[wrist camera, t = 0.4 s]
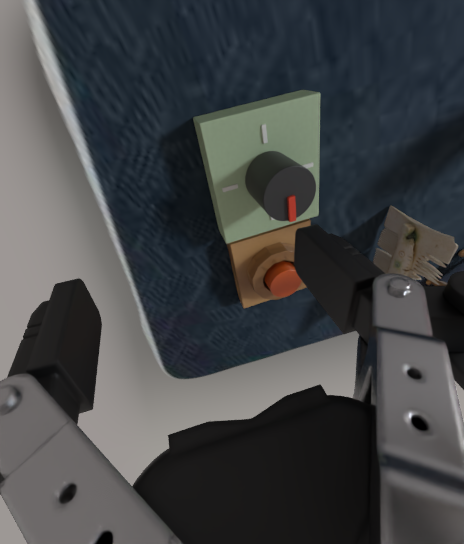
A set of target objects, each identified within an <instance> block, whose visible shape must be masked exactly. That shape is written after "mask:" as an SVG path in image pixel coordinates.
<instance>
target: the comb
mask: <svg viewBox="0 0 464 544" xmlns="http://www.w3.org/2000/svg"><path fill="white" fill-rule="evenodd" d="M384 226H385V227H386V228H384V229H383V231H381V232H383V233H381V234H380V235H381V236H380V237H381V238H380V239H381V240H380V239H379V241H378V242H379V243H378V245H379V246H380V247H381V248H382V249H383V250H385V251H386V252H385V251H383V250H380V249H378V248H376V251H377V252H376V251H375V252H376V253H375V254H376V255H375V256H376V257H375V256H374V257H375V258H374V259H375V260H374V259H373V260H374V261H375V262H374V261H373V262H374V263H375V265H376V266H377V267H378V268H380V269H381V270H382V271H383V272H384V273H386V274H388V273H395V274H401V275H405V276H408V277H410V278H412V279H414V280H415V279H416V280H421V277H419V276H418V275H416V274H419V275H422V276H423V277H425V278H427V279H428V280H430V281H432V282H434V283H435V284H437V285H439V284H438V283H437V282H436V281H435V280H437V281H439V280H438V279H437V278H436V277H438V278H440V279H441V277H440V276H439V275H441V276H443V274H442V273H441V272H439V271H438V270H437V269H436V268H435V267H434V266H432V265H431V264H429V263H428V262H427V261H429V260H431V261H433V262H434V263H436V264H438V265H440V266H442V267H445V268H446V266H445V265H444V264H443V263H442V262H444V263H446V264H449V263H450V261H451V259H452V257H453V255H454V254H455V252H456V250H457V248H458V245H457V244H456V243H455V242H454V237H452V236H449V235H446V234H443V233H440V232H438V231H435V230H432V229H430V228H429V227H427V226H425V225H423V224H421V223H419V222H418V221H416V220H414V219H412V218H410V217H409V216H407V215H405V214H404V213H402V212H401V211H399V210H398V209H396V208H395V207H393V206H390V207H389V210H388V214H387V217H386V220H385V223H384ZM387 228H388V229H387ZM385 229H386V230H385ZM384 231H385V232H384ZM387 252H388V253H389V254H388V253H387ZM439 260H440V261H439ZM441 261H442V262H441ZM374 263H373V264H374ZM438 274H439V275H438ZM435 276H436V277H435ZM434 279H435V280H434Z"/></svg>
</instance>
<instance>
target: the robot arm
mask: <svg viewBox="0 0 464 544" xmlns="http://www.w3.org/2000/svg"><path fill="white" fill-rule="evenodd" d="M294 266H295V270H296V273H297V275H298V276H299V278H300V279H301V280H302V281H303V283H304V284H305V285H306V287H307V288H308V289H309V290H310V292H311V293H312V294H313V295H314V297H315V298H316V299H317V301H318V302H319V303H320V304H321V306H322V307H323V308H324V309H325V311H326V312H327V313H328V315H329V316H330V317H331V318H332V320H333V321H334V322H335V323H336V325H337V326H338V327H339V329H340V330H341V331H342V332H343V334H346V333H349V332H352V331H355V330H356V331H357V332H358V333H359V338H358V347H357V364H356V380H355V389H354V395H353V398H349V397H344V396H334V395H326V393H325V391H324V389H323V388H322V386H321V385H317V386H315V387H312V388H308V389H305V390H302V391H300V392H296V393H293V394H290V395H287V396H285V397H283V398H282V399H281V400H279V401H277V402H276V403H275V404H273V405H272V406H270V407H269V408H267V409H266V410H264V411H263V412H261V413H260V414H258V415H257V416H255V417H253V418H251V419H244V420H228V421H213V422H206V423H203V424H200V425H197V426H194V427H191V428H188V429H185V430H182V431H179V432H176V433H173V434H170V435H168V437H169V449H167V450H166V451H164V452H163V453H162V454H160V455H159V456H158V457H157V458H156V459H154V460H153V461H152V462H151V463H150V464H149V465H148V467H147V468H146V469H145V470H144V471H143V472H142V473H141V475H140V476H139V477H138V478H137V480H136V481H135V483H134V485H133V486H131V485H130V484H129V483H128V482H127V480H126V479H125V478H124V477H123V476H122V475H121V474H120V473H119V472H118V470H117V469H116V468H115V467H114V466H113V465H112V464H111V463H110V461H109V460H108V459H107V458H106V457H105V456H104V455H103V454H102V453H101V452H100V450H99V449H98V448H97V447H96V446H95V445H94V444H93V443H92V441H91V440H90V439H89V438H88V437H87V436H86V435H85V434H84V432H83V431H82V430H81V429H80V428H79V427H78V426H77V423H78V416H79V413H83V412H86V411H89V410H92V409H93V403H94V392H95V384H96V375H97V365H98V356H99V346H100V336H101V327H102V323H101V317H100V314H99V311H98V309H97V307H96V305H95V303H94V301H93V299H92V298H91V296H90V293H89V292H88V290H87V288H86V286H85V284H84V282H83V281H82V280H81V279H75V280H70V281H66V282H62V283H57V284H55V286H54V288H53V291H52V294H51V297H50V300H49V301H45V302H42V303H41V304H40V305H39V307H38V308H37V309H36V310H35V311H34V312H33V313H32V315H31V318H30V320H29V323H28V325H27V329H26V330H25V333H24V336H23V340H22V341H21V343H20V346H19V348H18V351H17V353H16V356H15V359H14V361H13V364H12V367H11V369H10V371H9V374H8V377H7V378H6V379H4V380H2V381H0V495H1V496H2V498H3V499H4V501H5V503H6V505H7V506H8V509H9V511H10V512H11V514H12V516H13V518H14V520H15V522H16V523H17V525H18V527H19V529H20V531H21V533H22V534H23V536H24V538H25V540H26V542H27V544H464V422H463V418H462V413H461V409H460V404H459V399H458V395H457V391H456V386H455V382H454V380H455V381H456V382H457V383H458V384H459V385H460V386H461V387H462V388H463V389H464V271H461V272H457V273H454V274H452V275H451V276H450V278H449V280H448V283H447V285H446V286H422V285H421V284H420V283H419V282H417V281H416V280H414V279H412V278H410V277H408V276H405V275H401V274H395V273H388V274H386V273H384V272H383V271H382V270H381V269H380V268H378V267H377V266H376V265H375V264H373V263H372V262H371V261H370V260H369V259H367V258H366V257H365V256H364V255H363V254H360V252H359V251H358V250H357V249H355V248H353V247H352V245H351V244H349V243H348V242H347V241H346V240H345V239H343V238H341V237H338V236H336V235H333V234H328V233H327V232H325V231H324V230H323V229H322V228H321V227H320V226H318V225H316V224H315V225H311V226H307V227H302V228H298V229H297V230H296V233H295V251H294Z"/></svg>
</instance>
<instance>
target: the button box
mask: <svg viewBox="0 0 464 544" xmlns="http://www.w3.org/2000/svg"><path fill="white" fill-rule="evenodd" d="M307 226H310V220H309V219H305V220H302V221H299V222H296V223H292V224H289V225H286V226H283V227H279V228H276V229H273V230H270V231H267V232H263V233H260V234H257V235H254V236H250V237H247V238H244V239H241V240H237V241H234V242H231V243H228V244H227V247H228V252H229V256H230V261H231V265H232V270H233V274H234V279H235V283H236V288H237V292H238V297H239V299H240V301H241V304H242V306H243V308H247V307H250V306H253V305H256V304H259V303H262V302H265V301H268V300H271V299H272V300H278V299H280V298H283V297H277V296H275V295H273V294H272V293H271V291H270V289H269V288H268V286H267V284H266V283H265V274H266V272H267V270H268V269H269V268H270V267H271V266H272V265H274V264H275V263H278V262H281V261H287V262H290V263H291V264H293V266H294V251H295V233H296V230H297V229H298V228H302V227H307ZM294 267H295V266H294ZM303 288H306V285H305V284H304V283H303V281H301V284H300V286H299V288H298V289H297V290H300V289H303ZM297 290H296V291H297ZM288 296H289V295H288ZM285 297H286V296H285Z"/></svg>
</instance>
